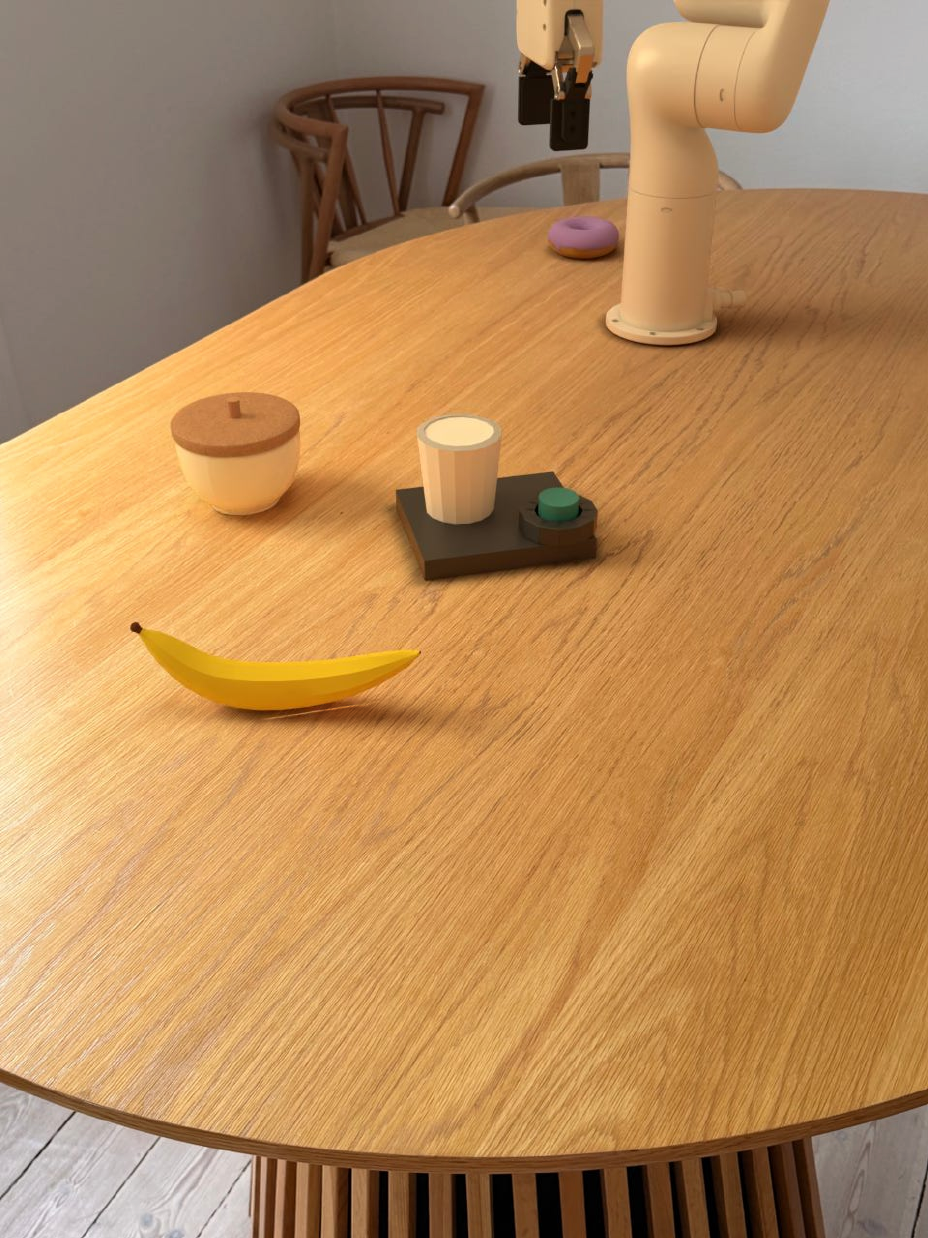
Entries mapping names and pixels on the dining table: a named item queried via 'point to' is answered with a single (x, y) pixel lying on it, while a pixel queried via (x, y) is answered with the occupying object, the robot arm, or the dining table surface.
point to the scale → (498, 532)
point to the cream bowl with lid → (238, 449)
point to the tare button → (558, 504)
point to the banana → (271, 674)
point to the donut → (583, 237)
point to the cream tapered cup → (459, 466)
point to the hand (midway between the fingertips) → (551, 136)
